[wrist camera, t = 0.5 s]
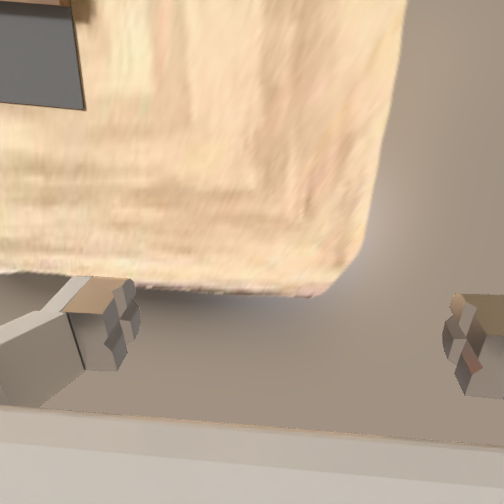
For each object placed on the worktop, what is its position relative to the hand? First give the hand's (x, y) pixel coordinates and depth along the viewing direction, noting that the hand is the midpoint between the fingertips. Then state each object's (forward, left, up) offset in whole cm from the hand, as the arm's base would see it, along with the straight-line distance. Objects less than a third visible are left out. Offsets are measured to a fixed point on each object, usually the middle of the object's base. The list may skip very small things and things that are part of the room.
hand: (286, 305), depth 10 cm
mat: (-2, -38, -45) cm, 59 cm away
